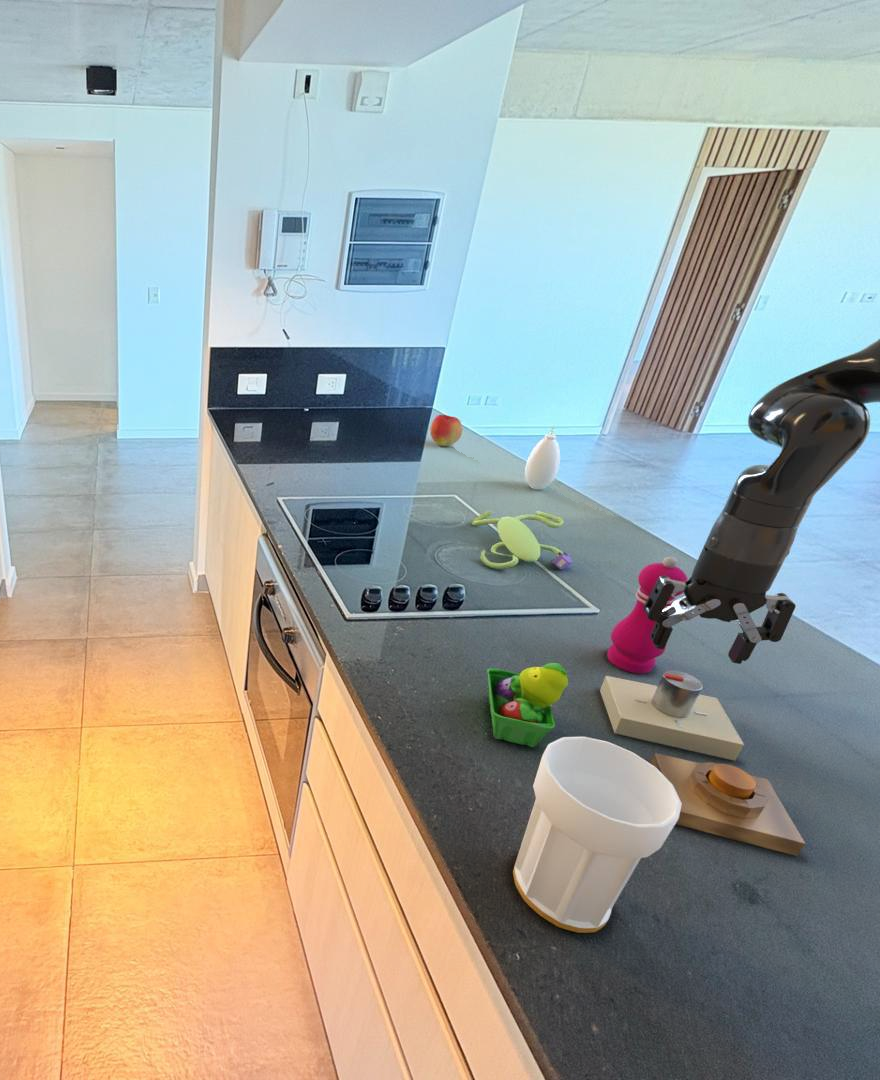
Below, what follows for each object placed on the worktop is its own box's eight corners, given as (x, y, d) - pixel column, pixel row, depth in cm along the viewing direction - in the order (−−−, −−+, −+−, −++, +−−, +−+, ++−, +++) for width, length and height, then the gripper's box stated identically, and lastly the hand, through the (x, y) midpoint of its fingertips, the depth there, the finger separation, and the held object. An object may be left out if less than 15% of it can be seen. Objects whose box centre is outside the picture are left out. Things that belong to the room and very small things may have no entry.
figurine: (553, 529, 148) (559, 508, 146) (580, 583, 126) (588, 559, 123) (469, 519, 154) (474, 499, 151) (480, 569, 131) (486, 546, 129)
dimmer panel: (709, 713, 92) (717, 696, 90) (735, 761, 84) (745, 743, 82) (599, 690, 97) (606, 674, 95) (614, 733, 88) (621, 716, 87)
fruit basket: (479, 692, 97) (496, 633, 92) (543, 705, 94) (564, 645, 89) (484, 742, 87) (503, 679, 82) (556, 759, 84) (580, 695, 79)
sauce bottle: (551, 495, 167) (570, 431, 159) (519, 490, 171) (536, 427, 163) (552, 486, 173) (571, 424, 165) (521, 481, 177) (537, 420, 168)
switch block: (760, 791, 79) (773, 768, 77) (797, 856, 71) (813, 833, 69) (648, 764, 83) (659, 742, 82) (671, 823, 75) (683, 800, 73)
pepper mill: (594, 656, 104) (633, 552, 95) (618, 644, 107) (659, 542, 98) (640, 681, 99) (686, 573, 90) (664, 667, 101) (712, 561, 92)
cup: (523, 935, 63) (571, 819, 56) (488, 839, 73) (525, 730, 66) (643, 952, 62) (711, 835, 54) (591, 852, 72) (642, 741, 64)
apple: (428, 448, 204) (434, 418, 200) (427, 439, 212) (432, 411, 208) (460, 450, 201) (466, 421, 197) (457, 442, 210) (463, 413, 205)
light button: (742, 779, 76) (748, 768, 76) (755, 803, 73) (762, 793, 72) (703, 769, 78) (708, 759, 77) (714, 793, 75) (720, 783, 74)
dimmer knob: (683, 701, 90) (697, 672, 87) (693, 721, 86) (708, 691, 84) (647, 693, 91) (660, 665, 89) (656, 713, 88) (669, 684, 85)
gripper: (803, 545, 78) (748, 649, 85) (667, 527, 83) (626, 627, 90) (834, 573, 72) (772, 682, 79) (685, 552, 76) (640, 656, 84)
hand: (694, 652), depth 84 cm, fingers open, 8 cm apart
